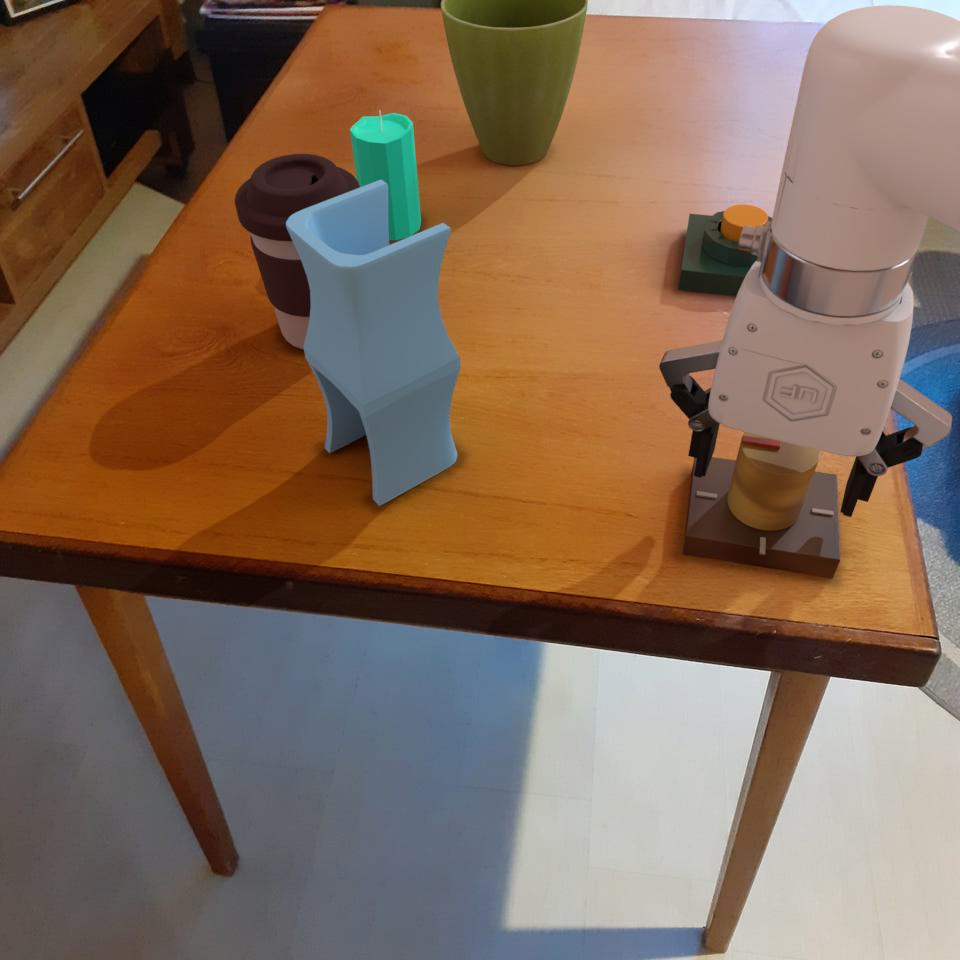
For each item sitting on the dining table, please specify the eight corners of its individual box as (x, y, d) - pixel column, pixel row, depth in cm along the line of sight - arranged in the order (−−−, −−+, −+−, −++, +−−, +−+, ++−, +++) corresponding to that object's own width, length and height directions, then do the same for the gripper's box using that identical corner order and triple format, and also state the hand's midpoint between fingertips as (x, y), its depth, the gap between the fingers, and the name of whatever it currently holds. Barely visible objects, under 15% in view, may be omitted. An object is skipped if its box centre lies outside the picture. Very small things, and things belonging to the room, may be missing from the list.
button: (765, 223, 86) (768, 206, 85) (764, 246, 83) (767, 229, 82) (721, 219, 87) (724, 202, 85) (719, 241, 84) (722, 224, 83)
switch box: (790, 243, 90) (799, 206, 87) (789, 302, 83) (799, 264, 80) (686, 233, 92) (692, 196, 89) (677, 290, 85) (683, 252, 82)
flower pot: (423, 146, 106) (412, -2, 95) (524, 109, 112) (525, -35, 100) (502, 197, 98) (501, 41, 86) (607, 154, 104) (618, 2, 92)
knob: (801, 483, 65) (821, 423, 61) (800, 536, 62) (821, 476, 57) (729, 473, 66) (743, 412, 62) (724, 524, 63) (739, 464, 58)
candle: (430, 214, 96) (421, 100, 87) (408, 244, 92) (397, 128, 83) (377, 206, 97) (363, 93, 88) (353, 235, 93) (336, 120, 84)
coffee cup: (244, 339, 82) (202, 183, 71) (317, 284, 87) (289, 132, 76) (328, 377, 78) (298, 218, 67) (400, 318, 83) (383, 162, 72)
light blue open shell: (465, 458, 71) (452, 227, 56) (379, 506, 67) (342, 274, 53) (407, 405, 75) (382, 178, 61) (324, 448, 72) (276, 218, 57)
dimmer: (830, 487, 67) (837, 466, 66) (833, 585, 61) (841, 565, 60) (691, 467, 69) (695, 447, 68) (681, 561, 63) (685, 541, 62)
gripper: (660, 268, 50) (634, 486, 62) (1007, 336, 45) (903, 559, 57) (694, 202, 55) (664, 416, 67) (1012, 257, 49) (915, 478, 62)
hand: (774, 482), depth 62 cm, fingers open, 9 cm apart
